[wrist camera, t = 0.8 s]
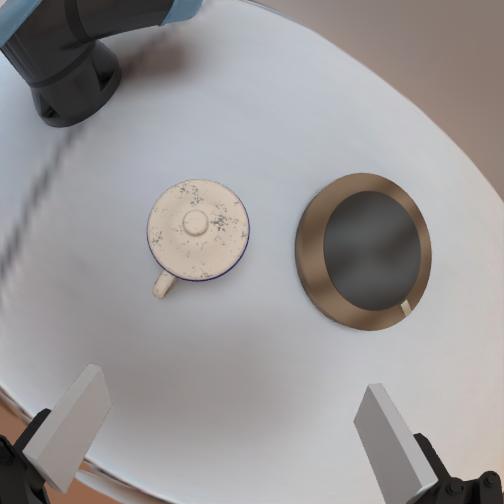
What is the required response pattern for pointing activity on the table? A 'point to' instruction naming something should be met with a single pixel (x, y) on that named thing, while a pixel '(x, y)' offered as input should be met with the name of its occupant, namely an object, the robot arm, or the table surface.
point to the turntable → (363, 252)
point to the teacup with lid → (196, 233)
